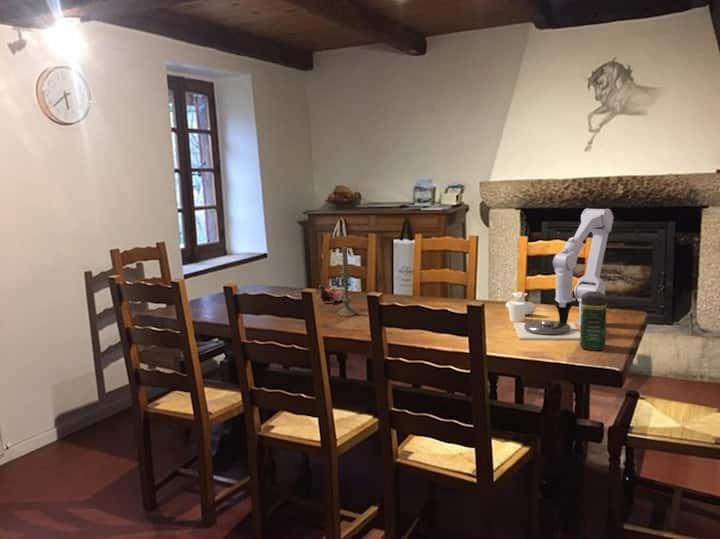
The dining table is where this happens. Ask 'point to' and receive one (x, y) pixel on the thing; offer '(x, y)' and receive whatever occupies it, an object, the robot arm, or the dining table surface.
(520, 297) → the bust
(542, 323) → the handwheel
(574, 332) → the wheel base
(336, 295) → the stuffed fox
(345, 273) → the candlestick holder
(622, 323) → the dining table surface
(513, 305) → the white cylinder
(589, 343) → the coffee jar
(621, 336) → the dining table surface
